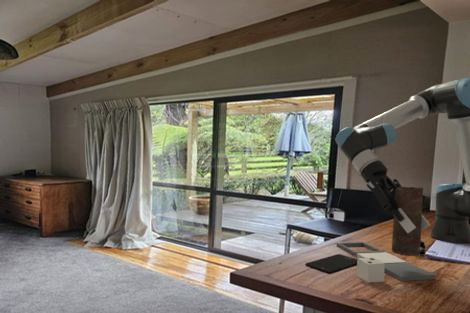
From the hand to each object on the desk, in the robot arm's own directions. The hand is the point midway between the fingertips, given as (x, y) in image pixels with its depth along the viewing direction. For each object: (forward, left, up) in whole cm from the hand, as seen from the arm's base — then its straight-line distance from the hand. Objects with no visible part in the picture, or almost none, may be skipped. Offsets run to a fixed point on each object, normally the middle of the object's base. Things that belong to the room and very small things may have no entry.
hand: (418, 228), depth 97 cm
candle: (+1, -3, -9) cm, 9 cm away
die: (+14, -1, -14) cm, 20 cm away
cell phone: (+18, -14, -14) cm, 27 cm away
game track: (+1, -15, -14) cm, 20 cm away
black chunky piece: (-19, -22, -15) cm, 32 cm away
